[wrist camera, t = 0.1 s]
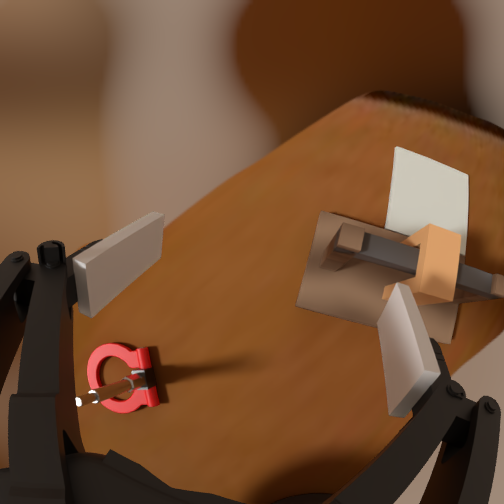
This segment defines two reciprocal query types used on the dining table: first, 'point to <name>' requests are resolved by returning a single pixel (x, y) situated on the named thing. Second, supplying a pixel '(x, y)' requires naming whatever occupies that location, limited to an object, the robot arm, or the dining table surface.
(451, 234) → the c-link
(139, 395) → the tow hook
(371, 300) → the stand
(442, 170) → the rubber mat
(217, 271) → the dining table surface
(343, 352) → the dining table surface
